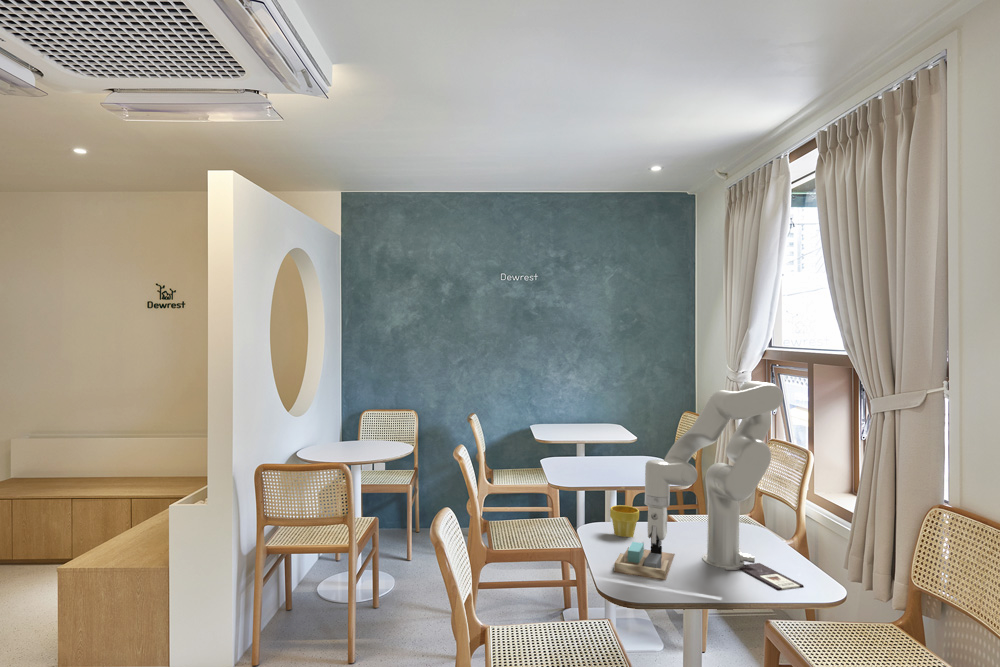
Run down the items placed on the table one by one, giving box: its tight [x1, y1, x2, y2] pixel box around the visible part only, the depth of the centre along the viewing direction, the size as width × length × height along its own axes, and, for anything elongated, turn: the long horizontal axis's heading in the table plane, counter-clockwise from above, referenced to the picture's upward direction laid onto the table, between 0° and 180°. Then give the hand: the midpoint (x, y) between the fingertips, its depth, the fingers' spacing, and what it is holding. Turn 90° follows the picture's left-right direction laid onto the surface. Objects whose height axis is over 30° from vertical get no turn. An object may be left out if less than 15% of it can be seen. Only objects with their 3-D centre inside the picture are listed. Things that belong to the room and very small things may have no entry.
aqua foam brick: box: [627, 541, 645, 563], centre depth 192 cm, size 4×9×4 cm, turn 158°
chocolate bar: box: [739, 562, 804, 591], centre depth 180 cm, size 9×1×18 cm
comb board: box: [613, 546, 676, 581], centre depth 188 cm, size 15×24×3 cm, turn 158°
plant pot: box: [609, 504, 640, 539], centre depth 216 cm, size 10×10×10 cm
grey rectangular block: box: [644, 553, 661, 569], centre depth 182 cm, size 4×9×4 cm, turn 156°
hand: (656, 558), depth 188 cm, fingers closed
